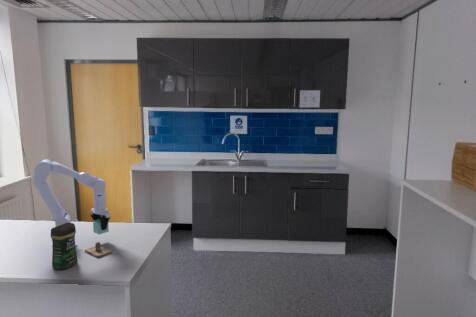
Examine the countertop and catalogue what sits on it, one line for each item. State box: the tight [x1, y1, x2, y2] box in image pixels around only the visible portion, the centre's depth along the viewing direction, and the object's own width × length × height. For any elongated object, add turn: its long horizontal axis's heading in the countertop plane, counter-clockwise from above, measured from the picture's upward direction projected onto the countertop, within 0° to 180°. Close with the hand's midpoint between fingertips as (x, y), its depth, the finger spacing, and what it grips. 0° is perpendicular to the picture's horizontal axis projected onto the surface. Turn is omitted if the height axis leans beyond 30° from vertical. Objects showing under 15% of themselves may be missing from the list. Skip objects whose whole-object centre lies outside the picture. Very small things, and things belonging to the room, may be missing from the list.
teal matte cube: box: [92, 219, 109, 235], centre depth 167 cm, size 5×5×6 cm
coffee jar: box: [50, 222, 78, 271], centre depth 141 cm, size 10×8×19 cm
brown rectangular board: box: [84, 241, 112, 259], centre depth 155 cm, size 11×7×5 cm, turn 54°
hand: (100, 228), depth 167 cm, fingers closed on teal matte cube, 5 cm apart
